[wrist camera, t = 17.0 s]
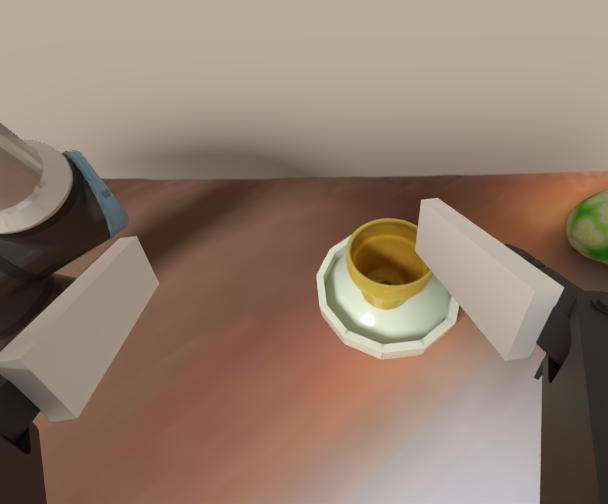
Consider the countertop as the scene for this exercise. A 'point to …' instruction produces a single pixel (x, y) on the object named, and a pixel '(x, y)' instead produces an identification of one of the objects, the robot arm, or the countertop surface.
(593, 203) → the decorative ball
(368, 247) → the plant pot
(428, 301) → the sage basin
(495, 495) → the countertop surface
